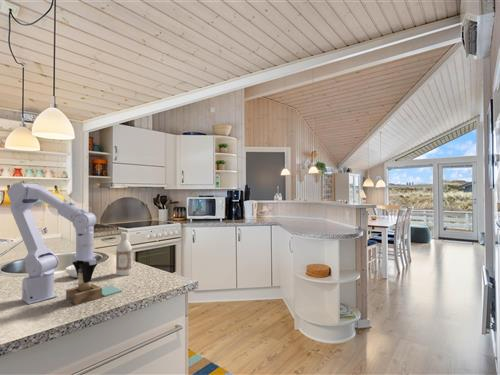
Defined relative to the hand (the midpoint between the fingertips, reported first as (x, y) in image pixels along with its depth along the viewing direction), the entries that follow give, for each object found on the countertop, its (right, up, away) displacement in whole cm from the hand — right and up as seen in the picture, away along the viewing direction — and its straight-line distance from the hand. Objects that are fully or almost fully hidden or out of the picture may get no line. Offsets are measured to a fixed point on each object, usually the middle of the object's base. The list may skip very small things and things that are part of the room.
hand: (84, 280), depth 108 cm
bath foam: (+1, -7, +31) cm, 32 cm away
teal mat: (+5, -7, +7) cm, 11 cm away
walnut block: (0, -7, 0) cm, 7 cm away
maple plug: (0, -4, 0) cm, 4 cm away
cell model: (-17, -7, +27) cm, 33 cm away
